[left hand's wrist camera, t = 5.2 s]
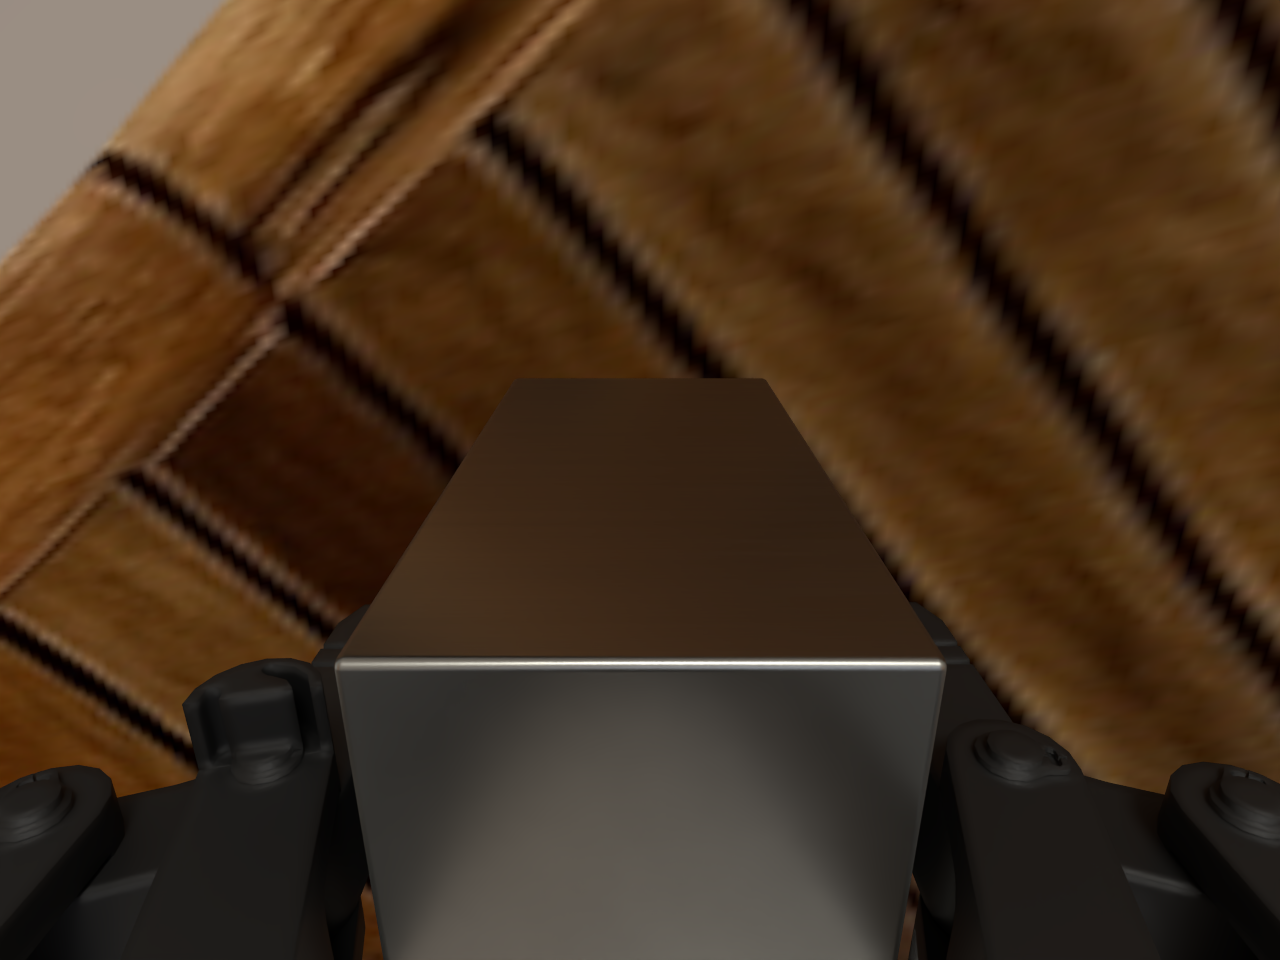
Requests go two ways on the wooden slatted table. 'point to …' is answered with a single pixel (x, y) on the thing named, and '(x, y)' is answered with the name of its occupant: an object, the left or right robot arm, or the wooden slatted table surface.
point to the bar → (640, 694)
